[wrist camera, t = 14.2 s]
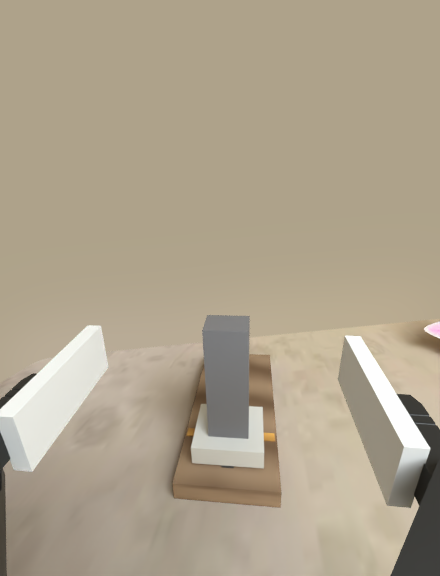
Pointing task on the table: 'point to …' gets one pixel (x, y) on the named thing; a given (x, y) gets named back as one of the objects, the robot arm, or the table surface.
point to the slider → (228, 399)
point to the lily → (433, 329)
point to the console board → (231, 479)
